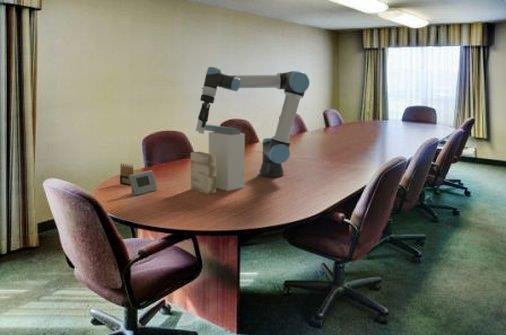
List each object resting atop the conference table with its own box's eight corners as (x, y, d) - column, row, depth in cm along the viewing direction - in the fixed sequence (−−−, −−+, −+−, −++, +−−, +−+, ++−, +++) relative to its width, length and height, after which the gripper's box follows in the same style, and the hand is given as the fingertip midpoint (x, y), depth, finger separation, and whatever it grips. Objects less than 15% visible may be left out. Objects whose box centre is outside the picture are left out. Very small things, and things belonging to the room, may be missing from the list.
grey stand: (225, 182, 263) (225, 127, 256) (244, 187, 252) (244, 129, 245) (208, 185, 254) (208, 128, 248) (227, 191, 243) (228, 131, 237)
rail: (208, 129, 260) (208, 124, 259) (236, 134, 243) (236, 128, 243) (204, 130, 258) (204, 124, 257) (232, 134, 241) (232, 128, 241)
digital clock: (133, 197, 230) (132, 176, 227) (124, 193, 236) (124, 173, 234) (161, 191, 241) (160, 172, 238) (152, 188, 247) (151, 169, 245)
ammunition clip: (135, 186, 251) (134, 164, 249) (132, 186, 250) (131, 165, 247) (122, 183, 257) (121, 162, 254) (119, 183, 255) (118, 163, 253)
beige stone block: (199, 187, 251) (199, 151, 247) (216, 192, 241) (216, 155, 237) (191, 188, 247) (190, 152, 242) (207, 194, 237) (207, 156, 233)
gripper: (198, 93, 263) (190, 129, 265) (205, 93, 239) (195, 132, 242) (211, 96, 265) (203, 132, 267) (218, 97, 242) (209, 135, 244)
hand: (199, 132), depth 255 cm, fingers open, 13 cm apart
